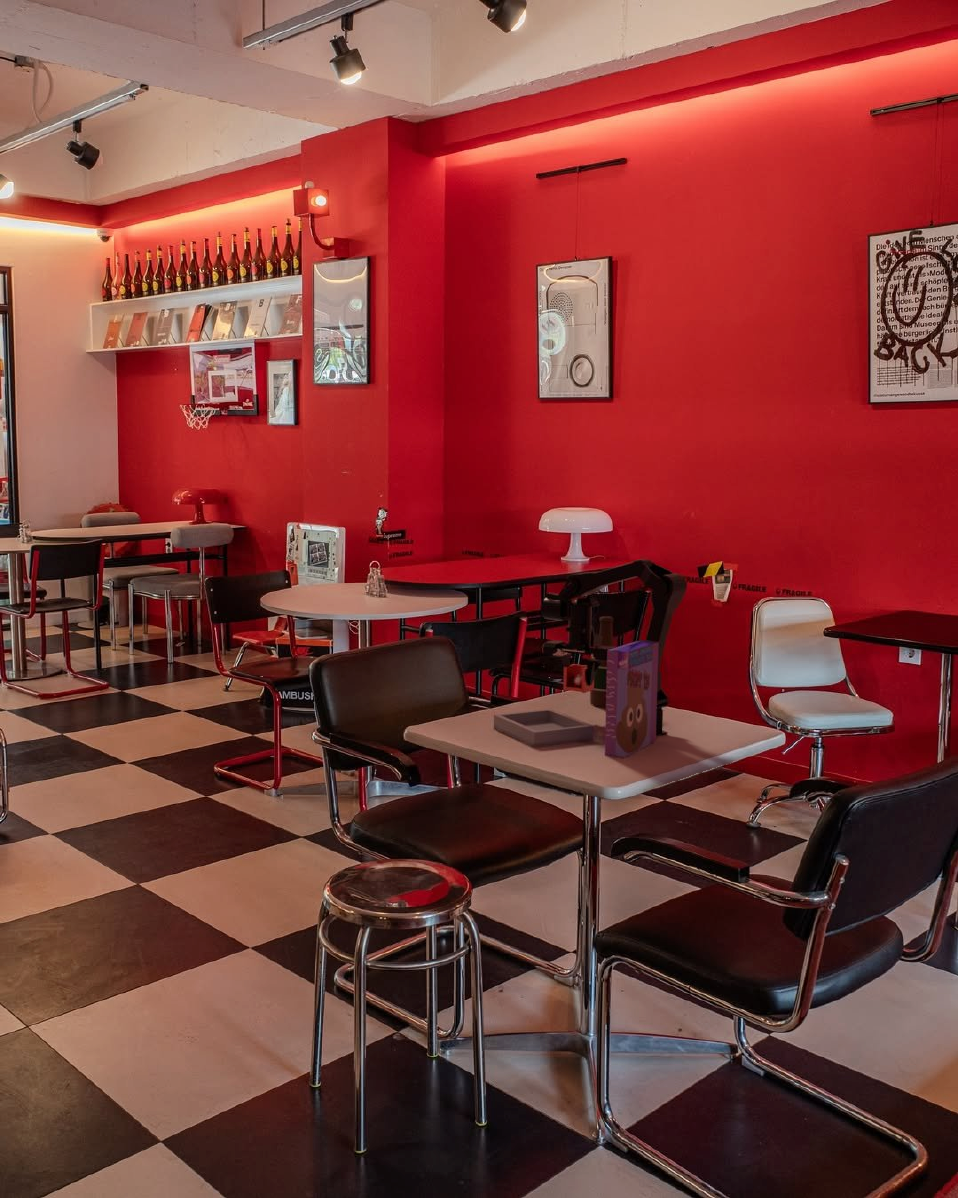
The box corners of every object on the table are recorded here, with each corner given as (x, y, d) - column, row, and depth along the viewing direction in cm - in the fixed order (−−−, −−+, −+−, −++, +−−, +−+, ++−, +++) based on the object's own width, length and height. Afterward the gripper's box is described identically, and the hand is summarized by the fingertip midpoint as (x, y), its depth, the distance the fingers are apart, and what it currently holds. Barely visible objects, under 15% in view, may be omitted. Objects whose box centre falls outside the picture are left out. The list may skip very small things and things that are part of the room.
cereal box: (624, 758, 249) (627, 651, 246) (604, 755, 252) (607, 649, 249) (655, 742, 264) (658, 641, 261) (636, 739, 266) (639, 639, 263)
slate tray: (593, 740, 265) (593, 725, 265) (534, 747, 258) (534, 732, 257) (550, 722, 283) (550, 708, 282) (493, 728, 276) (494, 714, 275)
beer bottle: (618, 702, 308) (620, 615, 305) (619, 708, 300) (621, 619, 297) (589, 701, 308) (591, 614, 305) (589, 707, 301) (591, 618, 298)
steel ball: (587, 687, 284) (587, 675, 283) (576, 687, 282) (577, 675, 282) (580, 685, 286) (581, 673, 286) (570, 685, 285) (571, 674, 285)
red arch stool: (593, 689, 285) (594, 666, 284) (584, 693, 281) (585, 669, 280) (572, 687, 288) (573, 663, 287) (563, 690, 284) (563, 666, 283)
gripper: (627, 622, 284) (626, 683, 286) (562, 616, 294) (561, 675, 296) (607, 627, 275) (606, 690, 277) (541, 621, 285) (540, 681, 287)
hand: (578, 684), depth 284 cm, fingers closed on red arch stool, 6 cm apart
